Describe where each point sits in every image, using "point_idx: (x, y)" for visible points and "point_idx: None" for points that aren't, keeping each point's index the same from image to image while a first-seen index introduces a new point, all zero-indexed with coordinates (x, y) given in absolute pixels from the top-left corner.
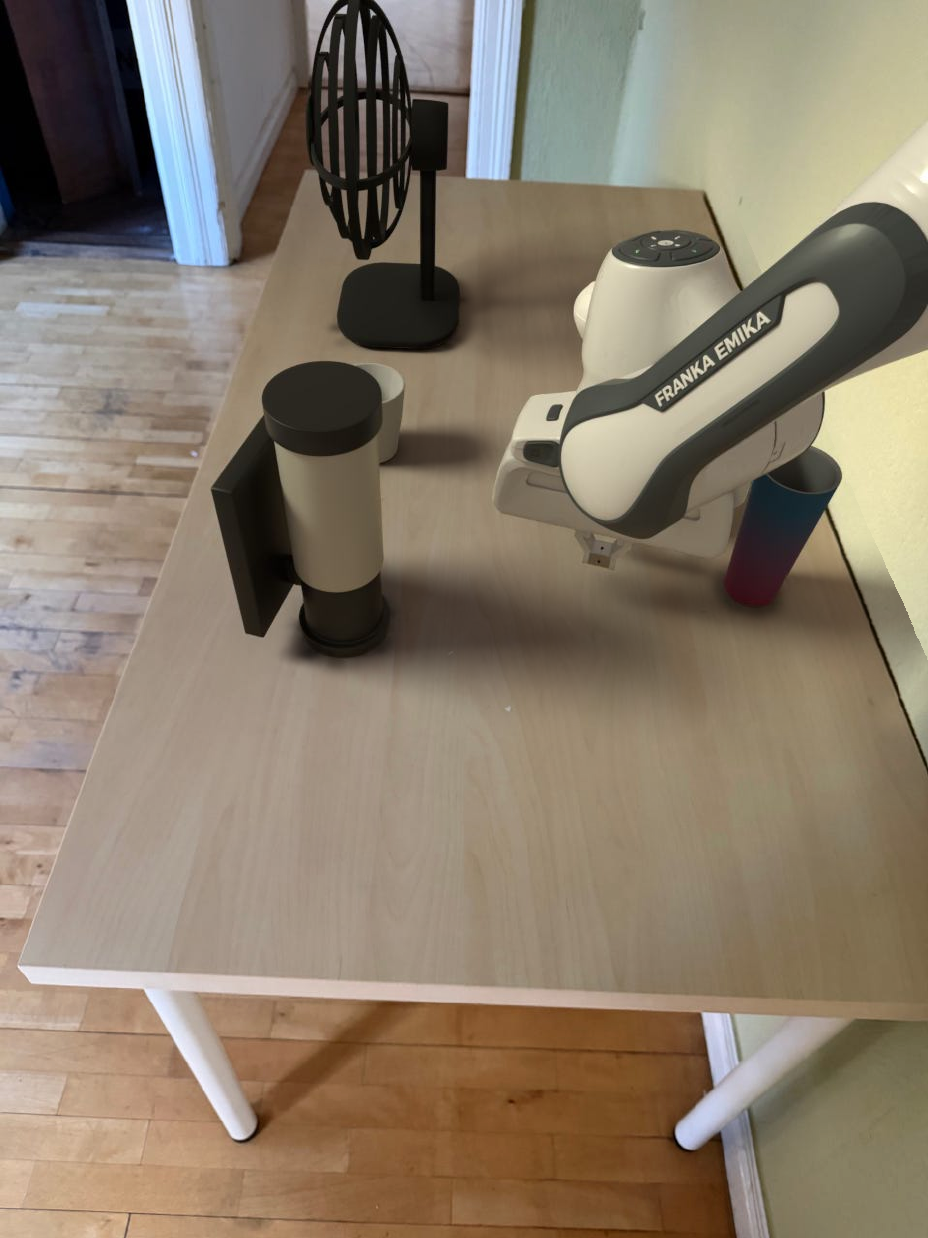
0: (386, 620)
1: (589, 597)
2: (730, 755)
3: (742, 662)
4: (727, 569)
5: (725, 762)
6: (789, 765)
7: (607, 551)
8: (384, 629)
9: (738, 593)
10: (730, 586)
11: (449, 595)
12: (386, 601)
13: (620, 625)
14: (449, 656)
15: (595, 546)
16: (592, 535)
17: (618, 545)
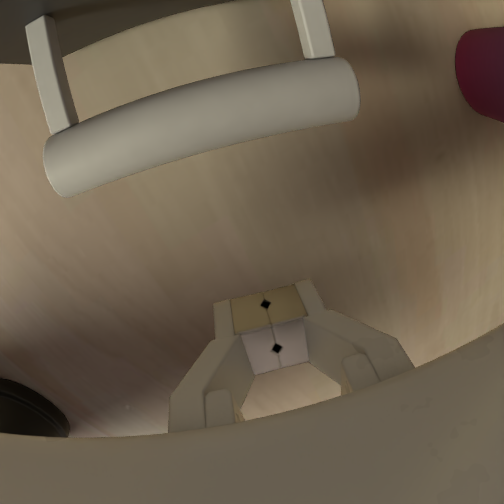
0: (51, 419)
1: (240, 234)
2: (454, 340)
3: (481, 227)
4: (475, 70)
5: (449, 348)
6: (493, 316)
7: (297, 351)
8: (60, 425)
9: (488, 115)
10: (478, 101)
11: (51, 347)
12: (27, 402)
13: (320, 262)
14: (130, 410)
15: (254, 354)
16: (232, 357)
17: (338, 370)
